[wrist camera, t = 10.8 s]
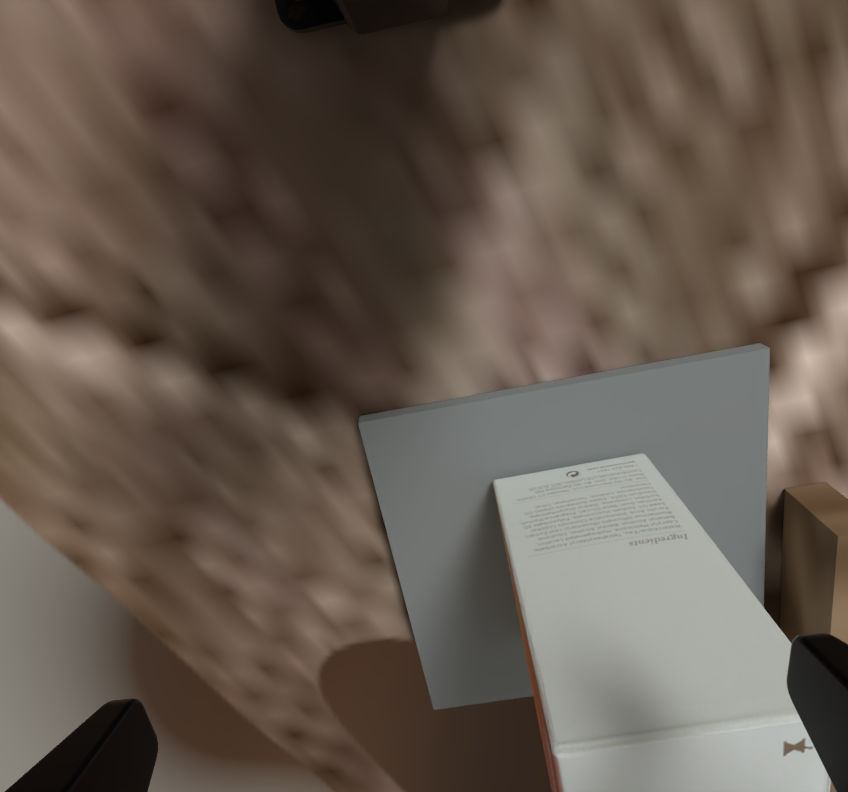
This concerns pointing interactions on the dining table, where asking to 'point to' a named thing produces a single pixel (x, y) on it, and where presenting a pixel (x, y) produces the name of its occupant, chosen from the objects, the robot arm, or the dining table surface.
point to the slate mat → (545, 450)
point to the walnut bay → (814, 563)
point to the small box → (645, 641)
